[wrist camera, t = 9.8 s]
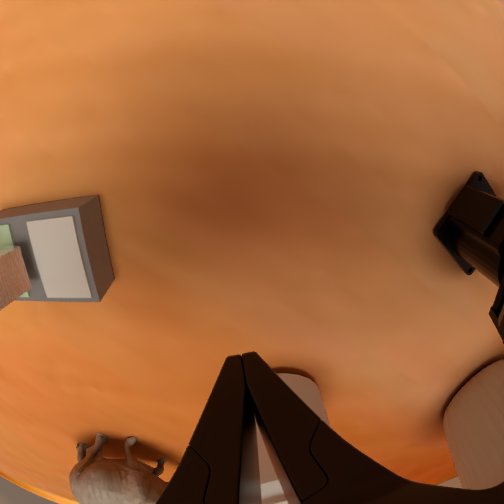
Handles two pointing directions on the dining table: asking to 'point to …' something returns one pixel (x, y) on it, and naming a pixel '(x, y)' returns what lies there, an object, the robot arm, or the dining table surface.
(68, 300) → the switch box
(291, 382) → the can
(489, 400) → the canister
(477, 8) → the dining table surface
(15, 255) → the toggle lever
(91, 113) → the dining table surface
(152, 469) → the rhinoceros figurine
